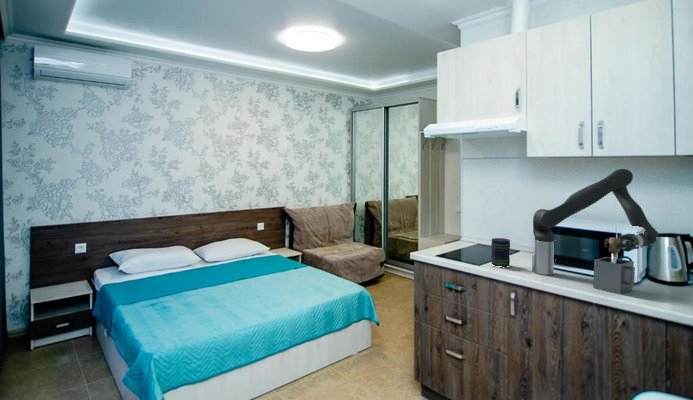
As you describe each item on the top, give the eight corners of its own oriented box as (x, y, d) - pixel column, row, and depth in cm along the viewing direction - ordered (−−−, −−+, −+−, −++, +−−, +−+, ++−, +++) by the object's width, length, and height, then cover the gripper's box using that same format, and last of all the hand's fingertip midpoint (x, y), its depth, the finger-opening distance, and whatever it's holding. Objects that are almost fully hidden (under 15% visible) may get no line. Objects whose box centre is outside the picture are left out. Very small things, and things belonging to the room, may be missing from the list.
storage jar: (497, 263, 228) (497, 237, 227) (513, 266, 220) (513, 239, 219) (487, 265, 222) (487, 239, 221) (503, 269, 214) (503, 241, 213)
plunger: (597, 285, 178) (599, 237, 177) (607, 282, 183) (609, 236, 181) (618, 290, 171) (620, 240, 169) (628, 287, 175) (630, 238, 174)
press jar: (593, 287, 179) (594, 259, 178) (605, 284, 184) (606, 256, 183) (626, 295, 167) (627, 265, 166) (638, 291, 173) (640, 262, 172)
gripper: (613, 231, 188) (594, 235, 180) (648, 235, 176) (629, 239, 167) (613, 247, 189) (594, 251, 180) (647, 252, 177) (629, 257, 168)
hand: (611, 245), depth 174 cm, fingers closed on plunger, 4 cm apart
